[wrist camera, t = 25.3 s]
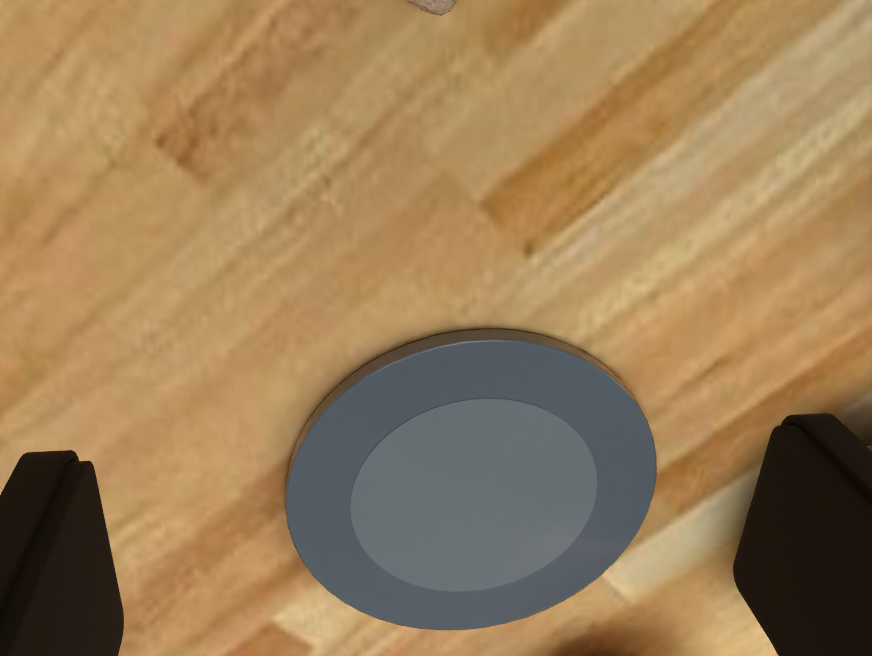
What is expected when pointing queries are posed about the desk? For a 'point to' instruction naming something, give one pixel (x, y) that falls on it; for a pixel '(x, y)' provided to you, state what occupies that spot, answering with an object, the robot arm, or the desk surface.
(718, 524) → the desk surface
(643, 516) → the plate
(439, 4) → the washcloth
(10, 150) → the desk surface
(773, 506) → the robot arm
